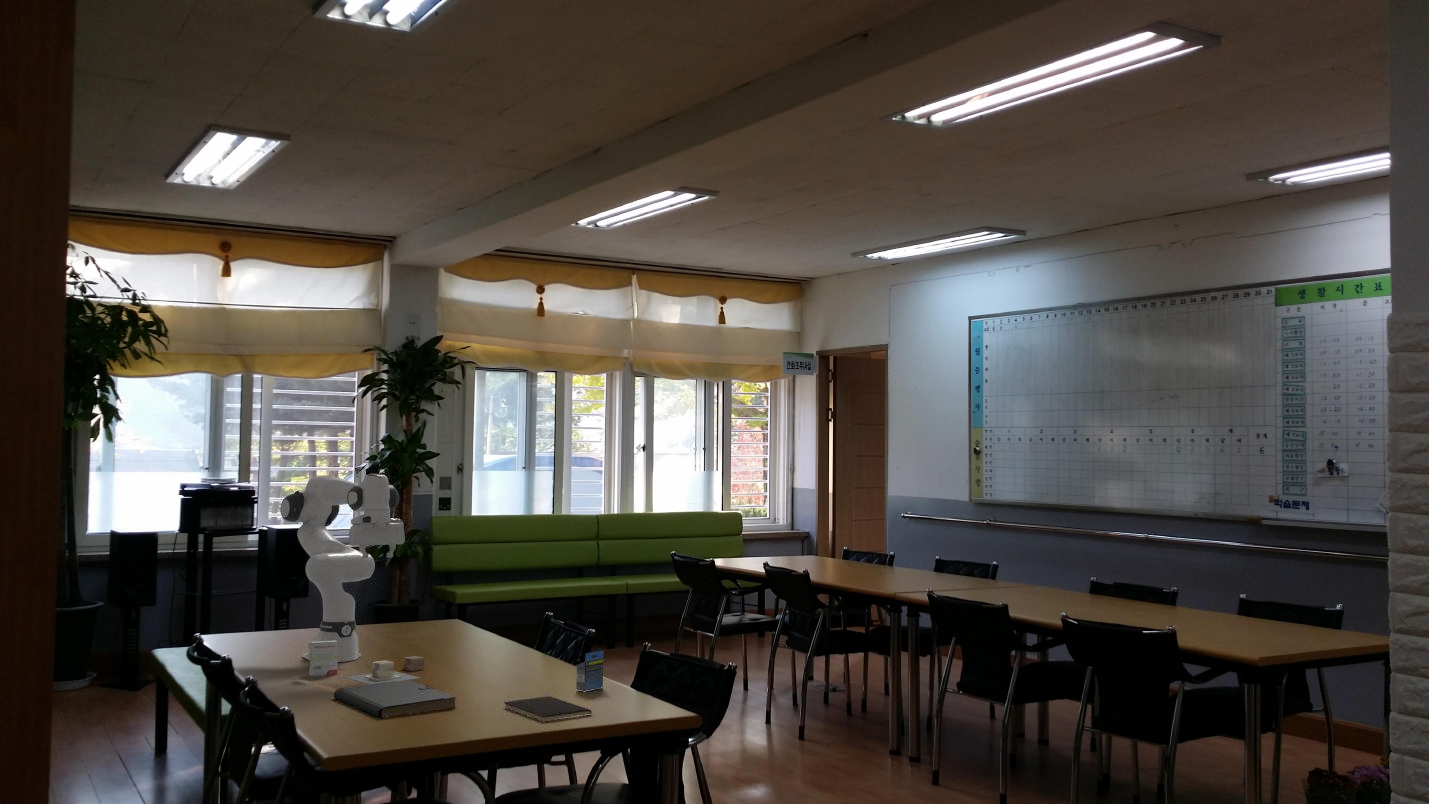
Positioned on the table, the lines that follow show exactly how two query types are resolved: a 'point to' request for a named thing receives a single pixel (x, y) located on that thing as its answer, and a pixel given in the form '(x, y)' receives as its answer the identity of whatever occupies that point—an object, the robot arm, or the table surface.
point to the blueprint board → (370, 680)
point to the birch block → (382, 669)
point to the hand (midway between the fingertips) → (377, 558)
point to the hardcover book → (546, 708)
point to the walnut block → (413, 663)
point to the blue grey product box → (590, 672)
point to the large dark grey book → (395, 698)
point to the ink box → (323, 658)
